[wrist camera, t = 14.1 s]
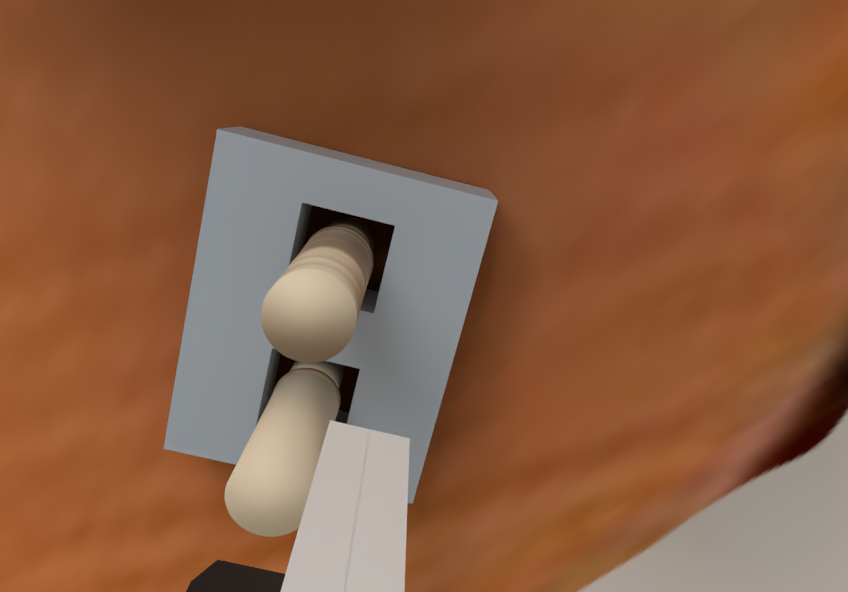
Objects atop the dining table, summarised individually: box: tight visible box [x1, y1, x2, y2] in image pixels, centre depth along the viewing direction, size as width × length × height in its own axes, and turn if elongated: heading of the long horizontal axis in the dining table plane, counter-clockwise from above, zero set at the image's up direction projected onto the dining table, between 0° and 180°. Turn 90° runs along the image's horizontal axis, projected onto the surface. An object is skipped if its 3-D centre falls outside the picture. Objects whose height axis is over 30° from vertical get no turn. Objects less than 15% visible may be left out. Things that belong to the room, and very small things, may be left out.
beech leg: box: [261, 217, 374, 363], centre depth 37 cm, size 4×4×16 cm
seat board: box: [164, 126, 498, 537], centre depth 38 cm, size 20×16×16 cm
